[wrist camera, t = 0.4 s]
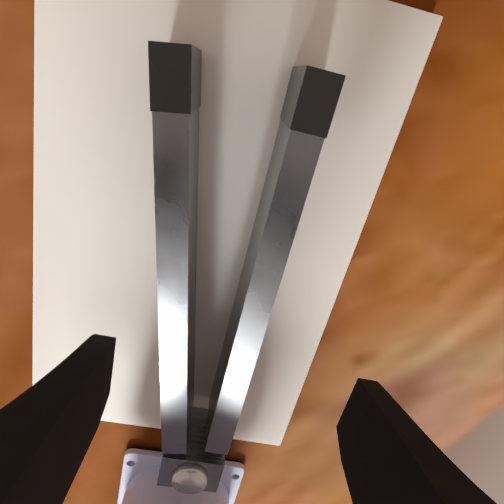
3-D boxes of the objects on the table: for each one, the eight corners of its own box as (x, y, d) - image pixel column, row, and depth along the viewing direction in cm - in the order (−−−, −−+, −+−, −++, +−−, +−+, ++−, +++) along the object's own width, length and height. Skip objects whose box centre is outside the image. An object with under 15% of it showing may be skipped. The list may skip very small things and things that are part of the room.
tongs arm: (194, 399, 22) (187, 454, 19) (172, 398, 22) (160, 454, 19) (201, 50, 15) (191, 44, 12) (167, 47, 15) (147, 40, 12)
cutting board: (278, 432, 25) (279, 445, 25) (40, 397, 24) (32, 410, 23) (431, 19, 16) (443, 16, 15) (48, -95, 14) (35, -106, 13)
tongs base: (220, 436, 24) (216, 500, 21) (167, 429, 24) (155, 492, 20) (323, 74, 16) (348, 75, 12) (244, 53, 15) (247, 48, 12)
